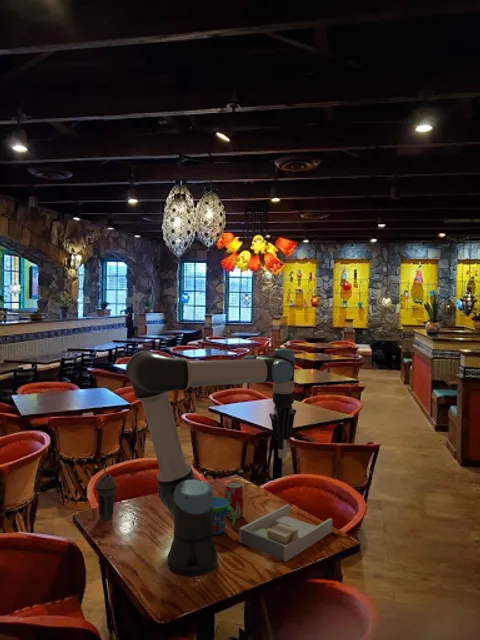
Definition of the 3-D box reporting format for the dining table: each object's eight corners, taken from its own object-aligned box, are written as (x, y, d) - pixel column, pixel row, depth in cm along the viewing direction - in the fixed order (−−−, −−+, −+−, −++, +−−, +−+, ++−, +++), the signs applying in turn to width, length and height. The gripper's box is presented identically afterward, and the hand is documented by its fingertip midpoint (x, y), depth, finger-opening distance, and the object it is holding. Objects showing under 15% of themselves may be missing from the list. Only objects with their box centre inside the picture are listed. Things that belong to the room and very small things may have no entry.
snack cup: (186, 531, 170) (186, 502, 170) (204, 520, 179) (204, 492, 179) (224, 543, 162) (224, 512, 162) (240, 531, 171) (241, 502, 171)
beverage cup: (120, 516, 181) (121, 462, 181) (106, 524, 175) (107, 468, 174) (105, 512, 184) (106, 459, 184) (91, 519, 178) (92, 464, 178)
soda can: (242, 520, 180) (243, 488, 180) (223, 520, 180) (224, 487, 180) (243, 512, 187) (243, 481, 187) (224, 512, 187) (225, 481, 187)
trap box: (286, 561, 151) (286, 547, 151) (238, 541, 163) (239, 528, 163) (331, 531, 173) (332, 518, 172) (287, 516, 185) (287, 504, 185)
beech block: (285, 549, 154) (285, 536, 153) (267, 542, 158) (267, 530, 158) (297, 541, 159) (297, 529, 159) (279, 535, 163) (280, 523, 163)
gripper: (280, 395, 169) (279, 463, 169) (302, 391, 178) (301, 456, 179) (263, 392, 174) (262, 459, 174) (286, 388, 183) (285, 451, 184)
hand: (282, 457), depth 176 cm, fingers closed
